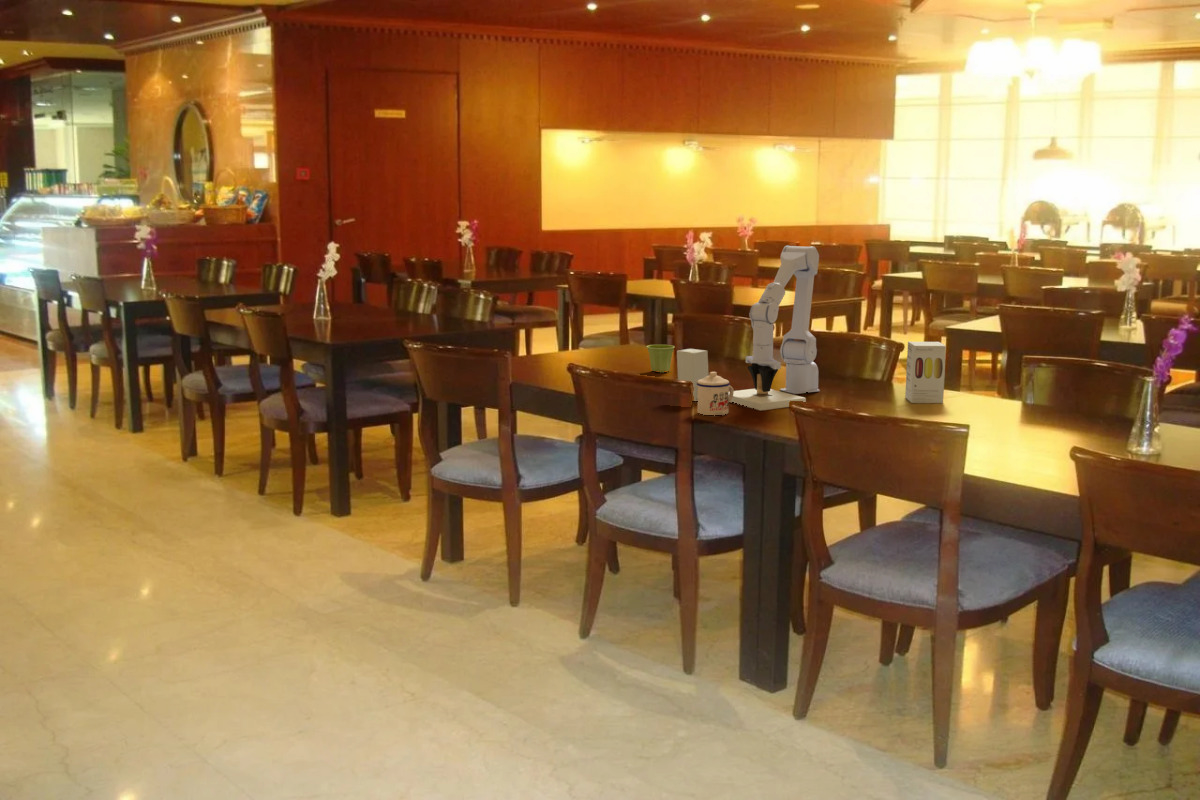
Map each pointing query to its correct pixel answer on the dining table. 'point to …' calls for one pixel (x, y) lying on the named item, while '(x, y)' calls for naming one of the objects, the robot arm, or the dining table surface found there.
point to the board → (764, 399)
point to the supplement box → (925, 372)
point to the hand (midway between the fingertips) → (762, 390)
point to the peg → (760, 387)
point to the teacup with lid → (713, 395)
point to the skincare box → (692, 367)
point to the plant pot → (660, 357)
